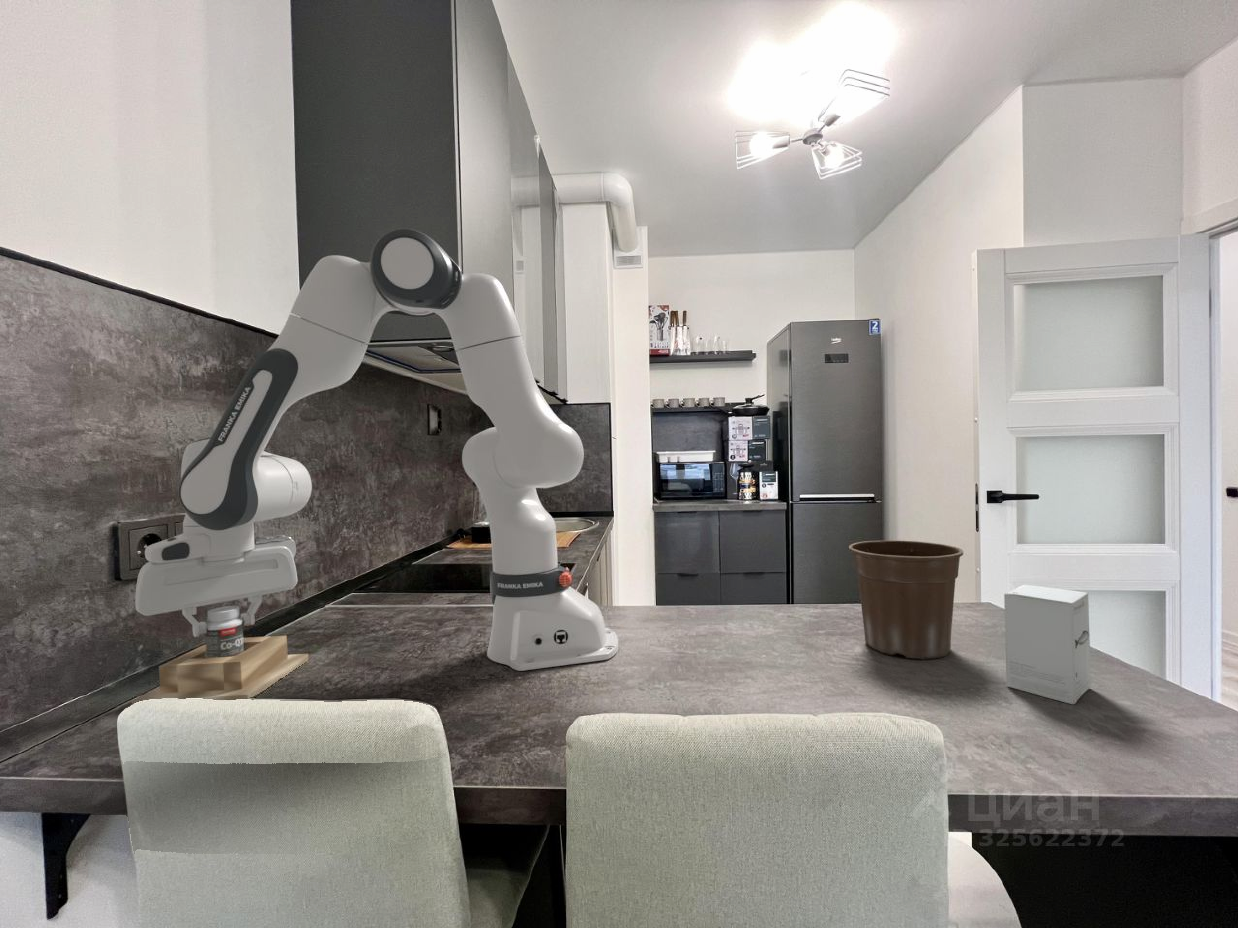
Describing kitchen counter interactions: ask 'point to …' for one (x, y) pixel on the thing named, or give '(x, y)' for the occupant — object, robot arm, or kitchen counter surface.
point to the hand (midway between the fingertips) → (224, 630)
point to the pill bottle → (224, 632)
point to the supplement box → (1048, 642)
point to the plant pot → (907, 595)
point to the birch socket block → (227, 671)
